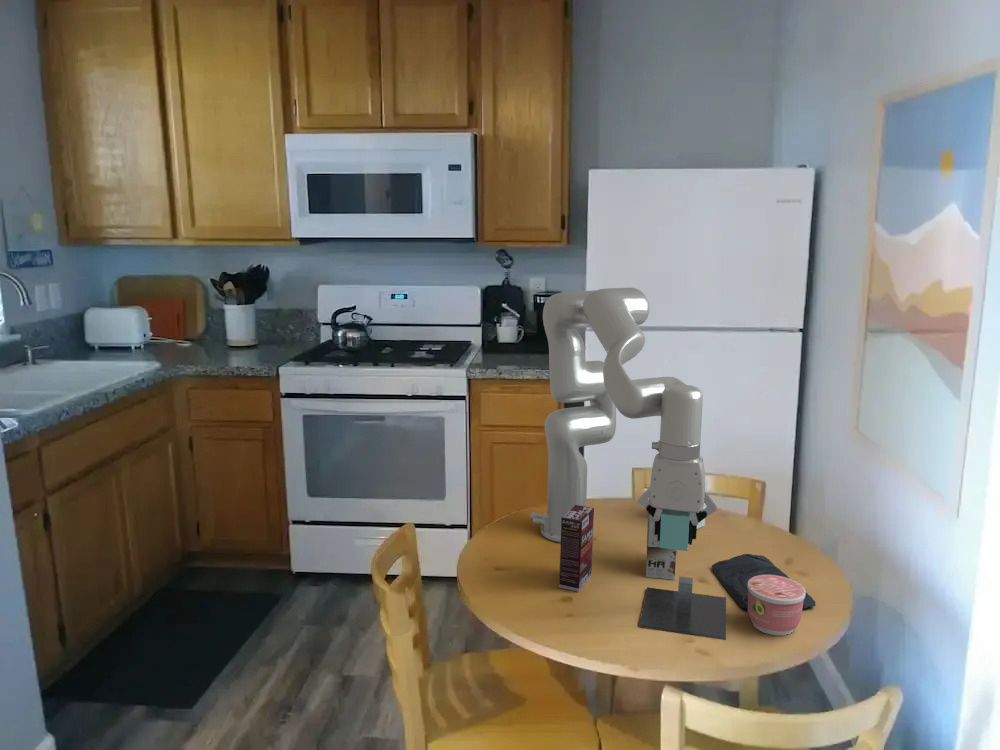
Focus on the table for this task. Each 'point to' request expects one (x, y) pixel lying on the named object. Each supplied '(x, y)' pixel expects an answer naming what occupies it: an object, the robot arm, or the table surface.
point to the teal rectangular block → (674, 530)
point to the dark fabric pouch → (748, 576)
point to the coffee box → (658, 555)
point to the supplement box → (576, 548)
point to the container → (775, 603)
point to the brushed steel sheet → (684, 611)
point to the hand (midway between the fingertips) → (675, 539)
